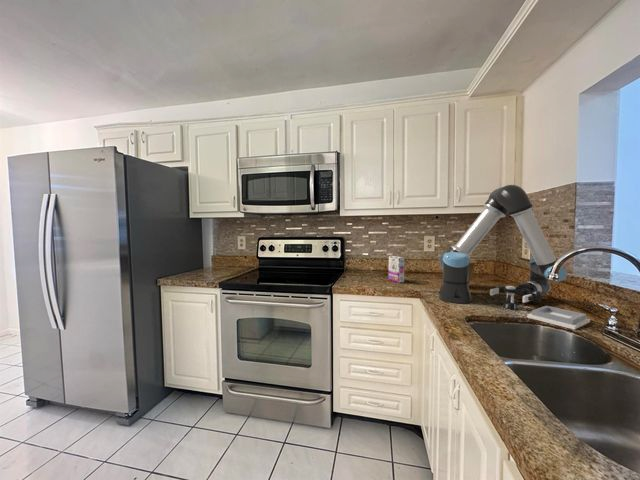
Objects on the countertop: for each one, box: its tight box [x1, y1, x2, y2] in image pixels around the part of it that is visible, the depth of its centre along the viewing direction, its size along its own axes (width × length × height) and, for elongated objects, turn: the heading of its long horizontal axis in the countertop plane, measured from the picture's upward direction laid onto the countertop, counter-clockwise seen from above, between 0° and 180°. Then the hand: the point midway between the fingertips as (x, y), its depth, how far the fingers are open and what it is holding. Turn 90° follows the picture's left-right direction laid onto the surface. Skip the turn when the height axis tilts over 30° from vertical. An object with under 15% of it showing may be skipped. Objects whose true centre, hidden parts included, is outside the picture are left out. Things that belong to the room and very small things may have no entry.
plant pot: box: [468, 259, 476, 285], centre depth 166 cm, size 15×15×16 cm
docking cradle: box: [526, 305, 591, 330], centre depth 110 cm, size 15×15×3 cm
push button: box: [503, 285, 518, 310], centre depth 126 cm, size 7×5×10 cm
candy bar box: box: [387, 255, 406, 284], centre depth 182 cm, size 11×5×16 cm, turn 23°
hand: (506, 295), depth 124 cm, fingers open, 13 cm apart
